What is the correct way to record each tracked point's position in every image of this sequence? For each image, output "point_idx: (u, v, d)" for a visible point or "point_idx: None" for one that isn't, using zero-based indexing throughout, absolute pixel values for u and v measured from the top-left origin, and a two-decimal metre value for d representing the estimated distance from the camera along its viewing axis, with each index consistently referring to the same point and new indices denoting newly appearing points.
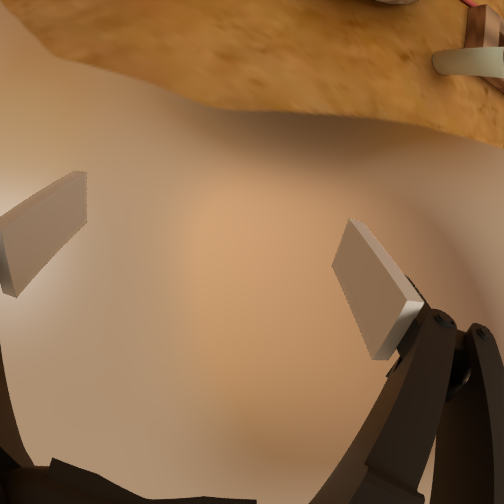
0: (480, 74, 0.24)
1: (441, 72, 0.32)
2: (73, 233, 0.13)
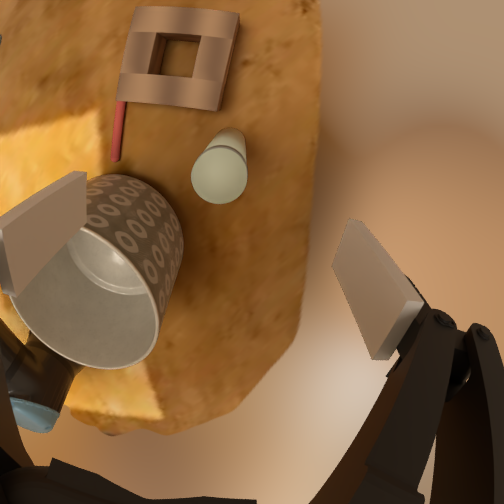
0: None
1: None
2: (73, 233, 0.13)
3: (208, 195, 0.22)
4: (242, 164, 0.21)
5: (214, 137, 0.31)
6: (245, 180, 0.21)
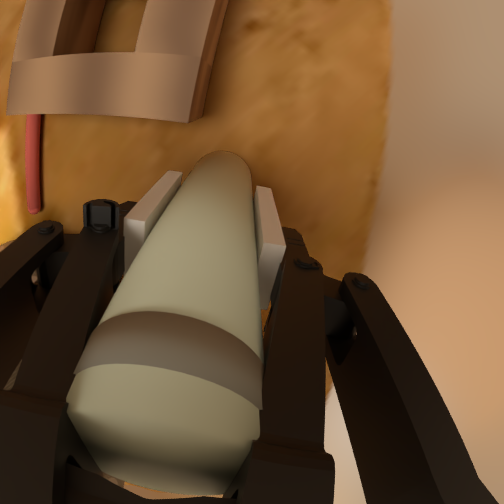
0: None
1: None
2: None
3: (138, 481, 0.05)
4: None
5: (183, 184, 0.14)
6: None
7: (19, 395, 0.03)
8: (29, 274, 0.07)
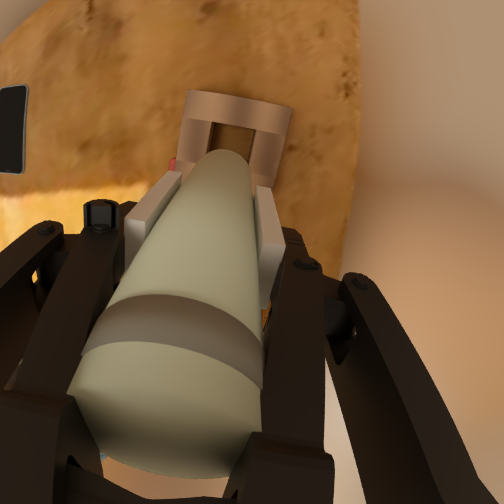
0: None
1: None
2: None
3: (140, 464, 0.05)
4: (251, 429, 0.04)
5: None
6: None
7: (20, 395, 0.03)
8: (29, 274, 0.07)
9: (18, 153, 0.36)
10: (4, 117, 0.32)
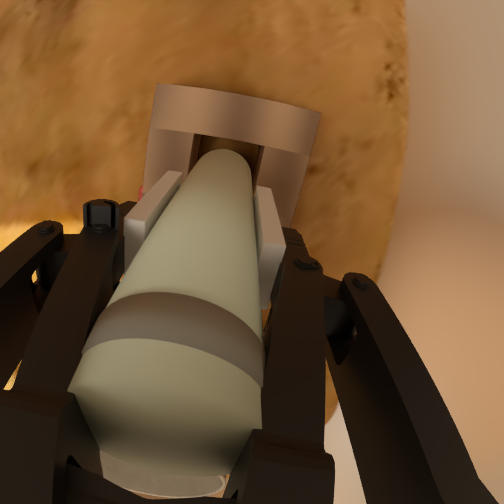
0: None
1: None
2: None
3: (141, 462, 0.05)
4: (251, 425, 0.04)
5: (185, 180, 0.14)
6: None
7: (19, 395, 0.03)
8: (29, 274, 0.07)
9: None
10: None
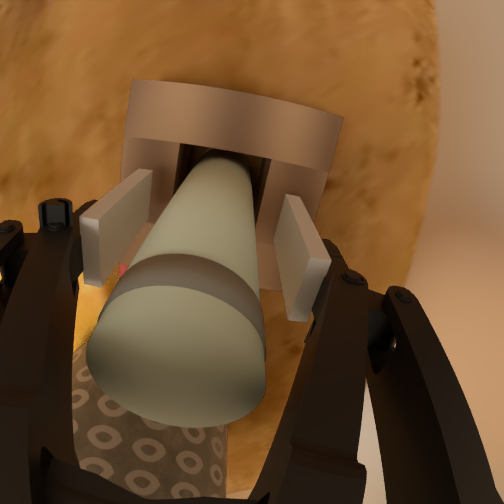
0: None
1: None
2: (140, 227, 0.14)
3: (151, 412, 0.07)
4: (249, 358, 0.06)
5: (189, 173, 0.16)
6: (259, 393, 0.06)
7: None
8: None
9: None
10: None
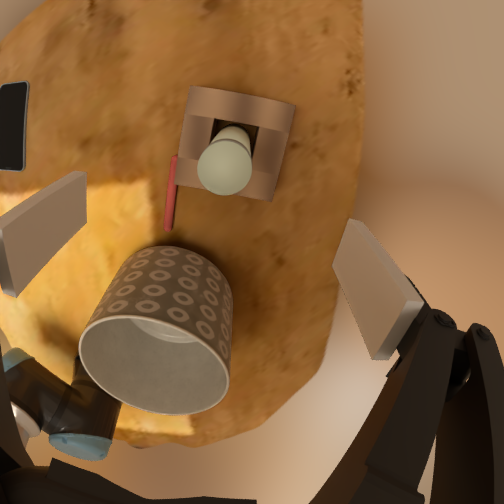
0: None
1: None
2: (73, 233, 0.13)
3: (213, 186, 0.22)
4: (247, 156, 0.21)
5: (219, 132, 0.31)
6: (250, 172, 0.22)
7: None
8: None
9: (18, 150, 0.35)
10: (4, 114, 0.32)
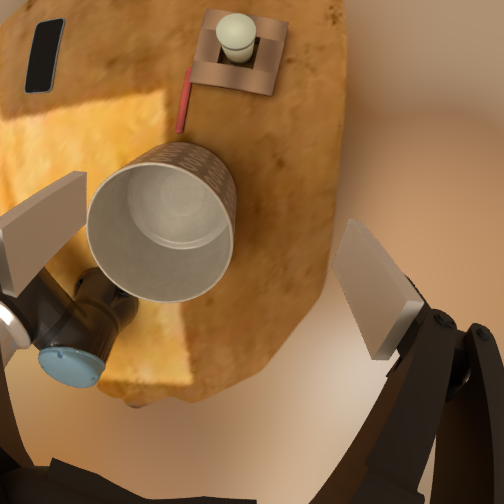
0: (253, 46, 0.32)
1: (251, 57, 0.40)
2: (73, 233, 0.13)
3: (227, 41, 0.25)
4: (252, 22, 0.24)
5: None
6: (254, 32, 0.24)
7: None
8: None
9: (48, 74, 0.38)
10: (38, 45, 0.35)
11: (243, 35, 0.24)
